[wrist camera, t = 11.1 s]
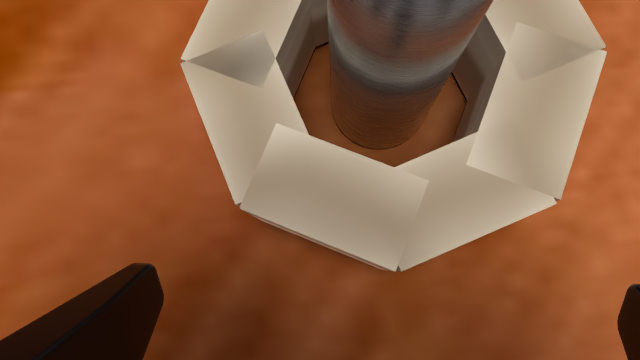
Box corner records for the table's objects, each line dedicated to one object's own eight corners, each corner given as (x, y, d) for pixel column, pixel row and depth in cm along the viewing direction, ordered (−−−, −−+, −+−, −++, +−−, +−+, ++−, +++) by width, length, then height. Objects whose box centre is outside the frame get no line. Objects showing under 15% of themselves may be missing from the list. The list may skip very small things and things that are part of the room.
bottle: (435, 137, 19) (784, -316, 4) (343, 157, 19) (358, -222, 4) (412, 51, 20) (635, -594, 5) (322, 71, 20) (274, -513, 5)
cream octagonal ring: (475, 307, 17) (521, 322, 13) (178, 187, 19) (129, 163, 14) (570, 21, 20) (638, -50, 15) (296, -68, 21) (284, -157, 16)
